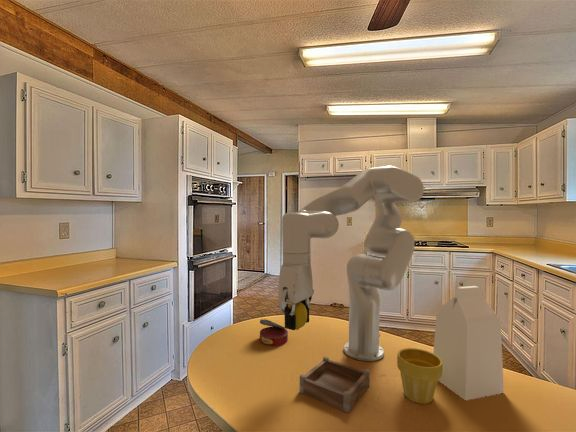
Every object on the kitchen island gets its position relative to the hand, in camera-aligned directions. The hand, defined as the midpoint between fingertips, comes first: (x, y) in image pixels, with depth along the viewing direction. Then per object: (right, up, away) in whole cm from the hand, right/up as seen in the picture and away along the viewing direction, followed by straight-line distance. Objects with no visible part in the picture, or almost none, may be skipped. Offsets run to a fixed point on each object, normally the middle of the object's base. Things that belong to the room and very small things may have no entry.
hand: (297, 324), depth 84 cm
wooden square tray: (+10, -15, -4) cm, 18 cm away
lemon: (0, -2, 0) cm, 2 cm away
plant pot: (+30, -16, -7) cm, 34 cm away
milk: (+45, -16, -1) cm, 48 cm away
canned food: (-8, -15, +25) cm, 30 cm away
